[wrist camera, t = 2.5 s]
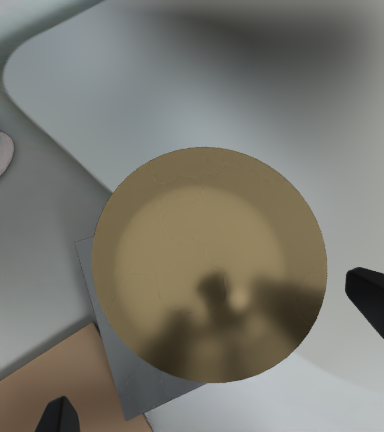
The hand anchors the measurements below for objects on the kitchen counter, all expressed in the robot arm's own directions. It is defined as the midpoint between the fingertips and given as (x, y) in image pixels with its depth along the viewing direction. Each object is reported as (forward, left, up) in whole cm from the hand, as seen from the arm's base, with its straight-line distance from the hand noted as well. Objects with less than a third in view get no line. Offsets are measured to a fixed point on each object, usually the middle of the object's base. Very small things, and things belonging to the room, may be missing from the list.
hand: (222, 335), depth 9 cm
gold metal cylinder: (+2, 0, -10) cm, 10 cm away
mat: (0, +8, -10) cm, 13 cm away
